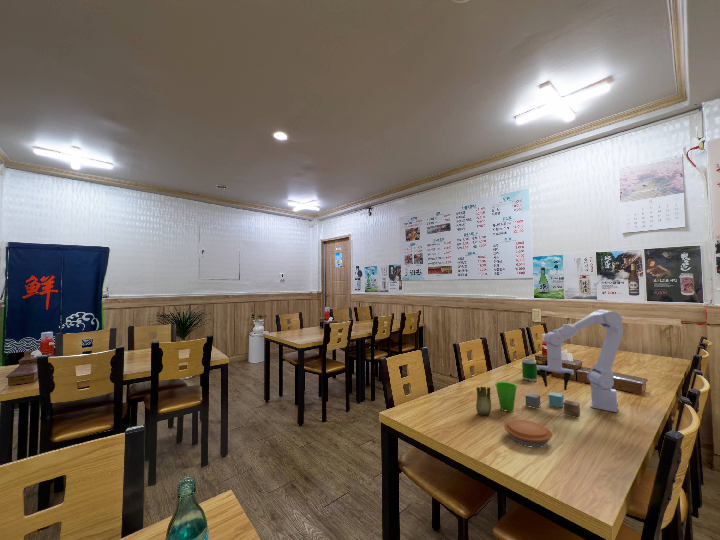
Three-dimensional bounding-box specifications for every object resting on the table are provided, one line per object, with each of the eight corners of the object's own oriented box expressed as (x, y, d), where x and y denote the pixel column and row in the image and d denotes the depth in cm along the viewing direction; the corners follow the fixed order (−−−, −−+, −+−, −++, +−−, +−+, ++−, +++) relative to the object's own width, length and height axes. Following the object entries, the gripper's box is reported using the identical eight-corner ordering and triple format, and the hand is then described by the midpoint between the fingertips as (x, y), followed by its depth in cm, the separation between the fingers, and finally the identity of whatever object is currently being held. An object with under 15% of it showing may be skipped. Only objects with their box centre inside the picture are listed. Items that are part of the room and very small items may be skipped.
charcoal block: (540, 406, 144) (540, 395, 144) (538, 409, 140) (537, 398, 141) (528, 403, 147) (528, 392, 148) (525, 406, 144) (525, 395, 144)
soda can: (539, 381, 180) (538, 360, 180) (526, 382, 180) (525, 360, 181) (532, 378, 187) (532, 357, 188) (520, 378, 187) (519, 357, 188)
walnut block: (579, 414, 134) (579, 402, 135) (578, 418, 131) (577, 405, 131) (566, 411, 138) (565, 399, 138) (564, 415, 134) (563, 403, 134)
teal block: (563, 405, 145) (563, 394, 145) (562, 408, 141) (561, 397, 141) (551, 402, 148) (550, 391, 149) (549, 405, 144) (548, 394, 145)
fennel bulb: (491, 414, 136) (490, 386, 136) (490, 418, 132) (489, 389, 132) (477, 411, 139) (476, 384, 139) (475, 415, 134) (474, 387, 135)
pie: (510, 426, 124) (509, 413, 124) (556, 438, 114) (555, 424, 114) (499, 441, 112) (498, 427, 112) (549, 456, 102) (548, 440, 102)
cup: (495, 411, 138) (494, 386, 139) (496, 404, 146) (495, 380, 147) (517, 415, 134) (516, 389, 135) (518, 407, 142) (517, 383, 143)
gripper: (573, 358, 144) (575, 388, 144) (538, 354, 154) (539, 382, 153) (572, 361, 139) (573, 392, 138) (535, 357, 148) (536, 386, 147)
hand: (555, 387), depth 145 cm, fingers open, 7 cm apart
